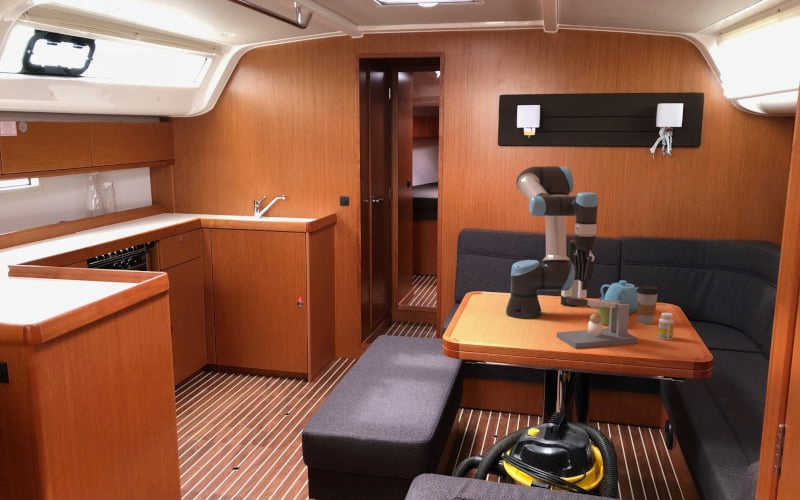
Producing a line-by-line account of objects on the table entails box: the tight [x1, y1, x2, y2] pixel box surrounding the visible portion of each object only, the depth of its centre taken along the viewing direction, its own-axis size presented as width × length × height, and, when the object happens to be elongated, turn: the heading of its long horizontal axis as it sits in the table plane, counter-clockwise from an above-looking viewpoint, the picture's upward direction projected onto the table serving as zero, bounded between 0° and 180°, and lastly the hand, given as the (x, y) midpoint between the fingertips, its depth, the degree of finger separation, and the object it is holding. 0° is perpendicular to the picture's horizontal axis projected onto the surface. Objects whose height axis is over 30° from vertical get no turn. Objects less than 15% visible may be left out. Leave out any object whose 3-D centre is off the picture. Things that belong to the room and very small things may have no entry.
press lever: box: [565, 296, 621, 310], centre depth 241 cm, size 4×23×3 cm, turn 104°
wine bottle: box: [560, 239, 579, 308], centre depth 294 cm, size 8×8×30 cm
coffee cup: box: [636, 284, 659, 325], centre depth 267 cm, size 8×8×15 cm
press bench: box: [556, 301, 639, 349], centre depth 242 cm, size 14×26×14 cm, turn 104°
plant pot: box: [597, 301, 611, 327], centre depth 265 cm, size 9×9×9 cm
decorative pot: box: [598, 279, 638, 315], centre depth 285 cm, size 16×16×14 cm
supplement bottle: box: [657, 312, 675, 341], centre depth 246 cm, size 5×5×10 cm
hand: (582, 297), depth 239 cm, fingers closed
